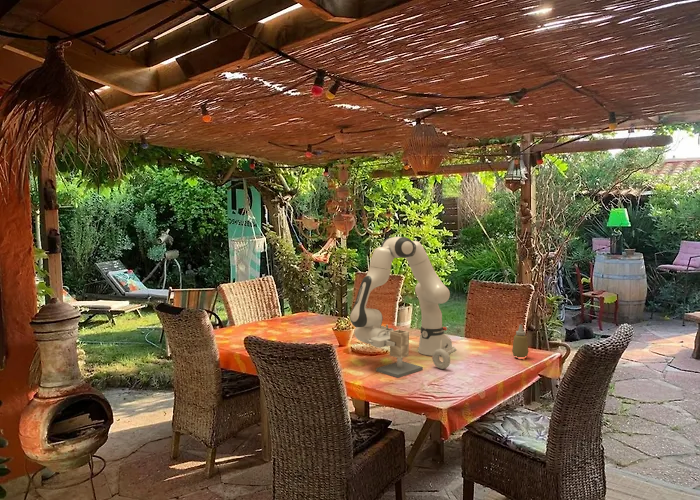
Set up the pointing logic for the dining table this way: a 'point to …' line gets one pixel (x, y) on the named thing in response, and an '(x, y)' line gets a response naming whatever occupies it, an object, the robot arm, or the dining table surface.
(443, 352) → the donut
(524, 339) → the squeeze bottle
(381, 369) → the post board
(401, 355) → the sleeve
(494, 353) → the dining table surface
